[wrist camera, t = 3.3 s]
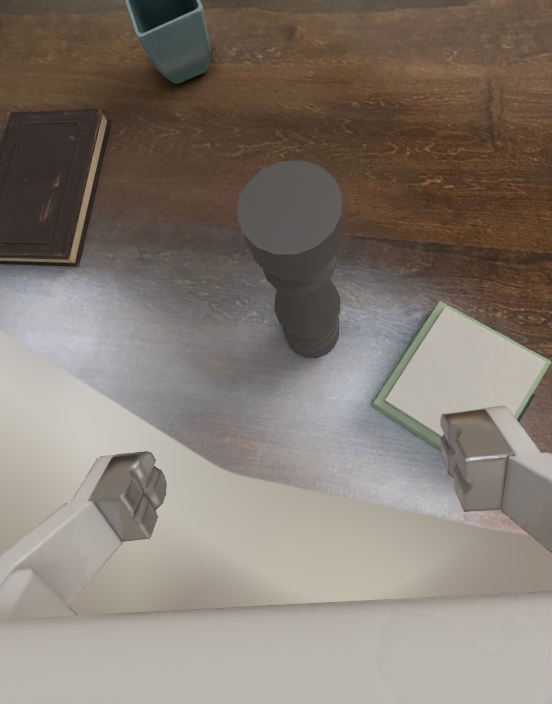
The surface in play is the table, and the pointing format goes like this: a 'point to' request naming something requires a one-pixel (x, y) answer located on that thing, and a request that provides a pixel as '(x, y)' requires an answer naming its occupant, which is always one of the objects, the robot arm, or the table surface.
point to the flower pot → (172, 36)
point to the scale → (457, 374)
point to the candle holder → (297, 248)
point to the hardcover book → (48, 183)
